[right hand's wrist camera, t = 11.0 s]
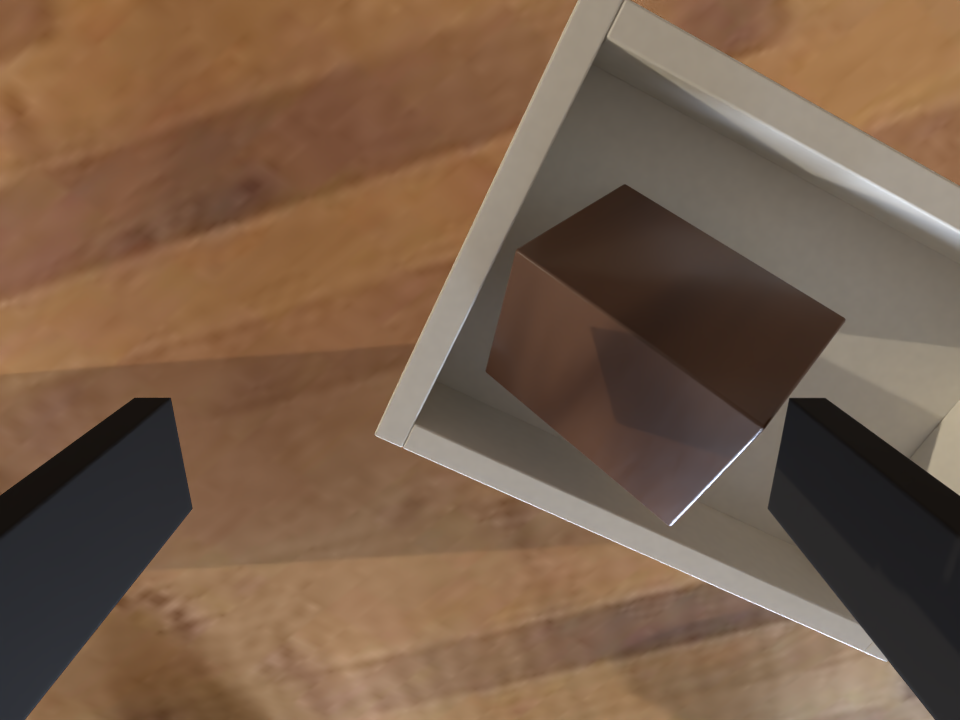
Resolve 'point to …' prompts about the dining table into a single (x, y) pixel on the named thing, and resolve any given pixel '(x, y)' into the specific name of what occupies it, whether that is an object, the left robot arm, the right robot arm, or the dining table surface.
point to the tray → (742, 227)
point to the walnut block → (652, 345)
